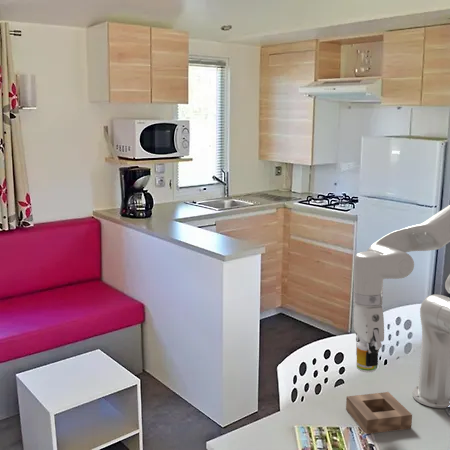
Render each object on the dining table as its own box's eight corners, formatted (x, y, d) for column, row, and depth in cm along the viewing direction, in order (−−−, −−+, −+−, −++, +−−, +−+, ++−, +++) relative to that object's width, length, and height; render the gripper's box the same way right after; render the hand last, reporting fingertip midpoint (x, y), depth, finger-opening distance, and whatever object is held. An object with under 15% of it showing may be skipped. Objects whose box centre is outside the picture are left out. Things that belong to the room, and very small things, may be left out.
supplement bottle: (376, 373, 150) (377, 339, 148) (356, 372, 151) (356, 338, 149) (376, 364, 155) (377, 332, 153) (356, 363, 157) (356, 330, 155)
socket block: (387, 404, 162) (388, 391, 161) (411, 428, 150) (412, 414, 149) (345, 409, 159) (346, 396, 159) (366, 434, 147) (367, 420, 146)
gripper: (396, 307, 142) (394, 373, 145) (367, 287, 158) (366, 346, 162) (368, 310, 140) (367, 376, 144) (342, 289, 157) (341, 349, 160)
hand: (366, 360), depth 153 cm, fingers closed on supplement bottle, 5 cm apart
